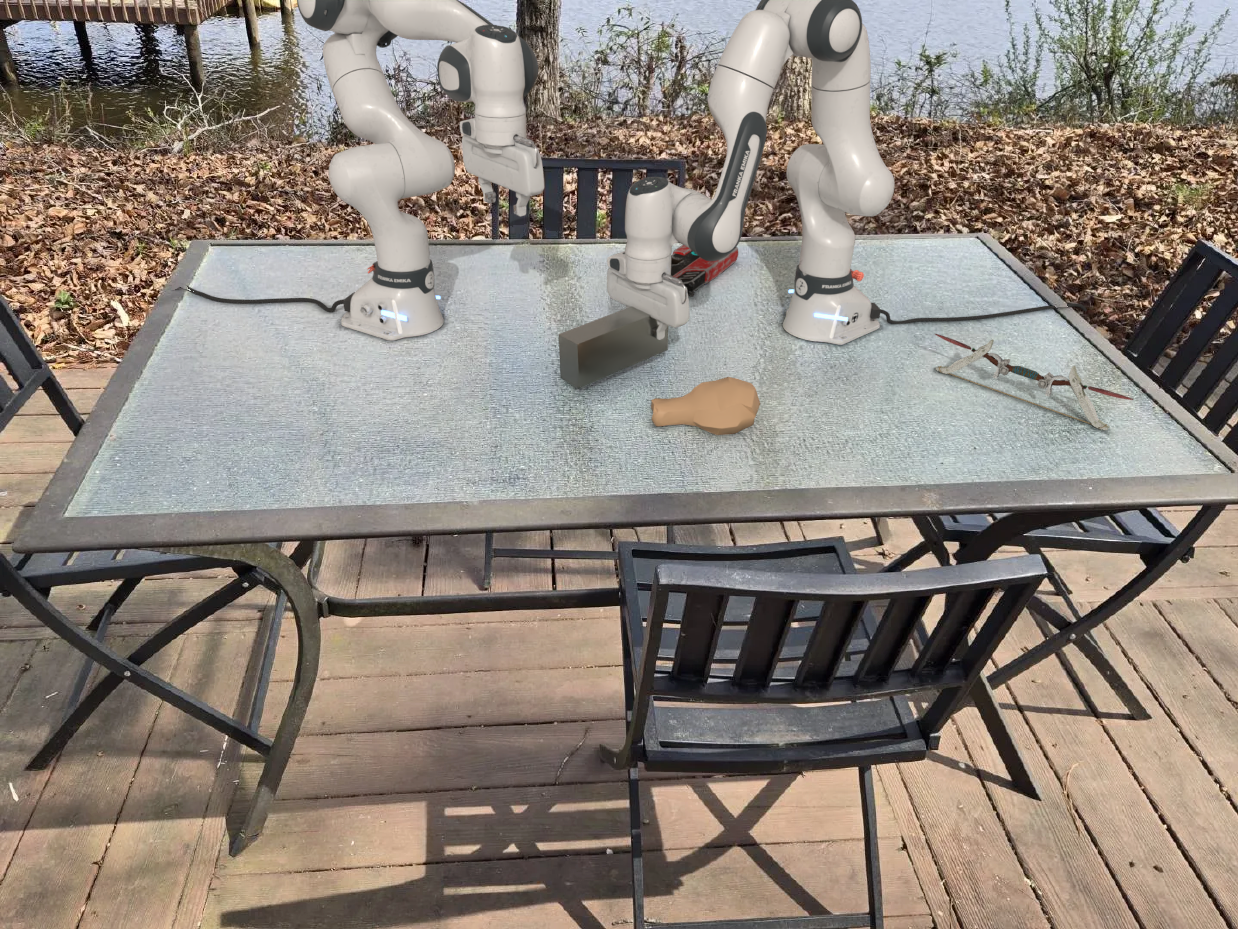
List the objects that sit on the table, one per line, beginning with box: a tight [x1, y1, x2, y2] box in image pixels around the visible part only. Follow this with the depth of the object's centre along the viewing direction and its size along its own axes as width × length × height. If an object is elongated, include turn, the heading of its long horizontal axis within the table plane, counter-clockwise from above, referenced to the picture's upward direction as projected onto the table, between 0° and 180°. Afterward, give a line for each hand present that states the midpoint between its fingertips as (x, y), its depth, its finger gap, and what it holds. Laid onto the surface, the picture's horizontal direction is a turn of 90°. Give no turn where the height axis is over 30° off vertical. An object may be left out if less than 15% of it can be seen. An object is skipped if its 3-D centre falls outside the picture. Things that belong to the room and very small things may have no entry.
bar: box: [558, 306, 670, 390], centre depth 170 cm, size 23×6×9 cm, turn 132°
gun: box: [671, 244, 739, 298], centre depth 223 cm, size 4×31×19 cm
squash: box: [650, 376, 761, 436], centre depth 160 cm, size 11×20×9 cm, turn 90°
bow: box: [934, 333, 1135, 431], centre depth 171 cm, size 39×2×10 cm, turn 47°
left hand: (504, 208), depth 161 cm, fingers open, 8 cm apart
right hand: (646, 332), depth 175 cm, fingers closed on bar, 5 cm apart
